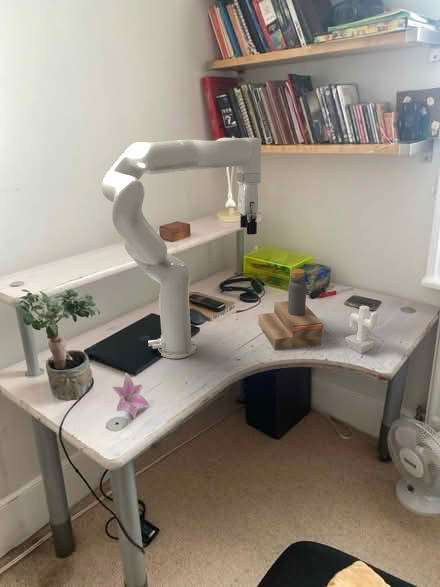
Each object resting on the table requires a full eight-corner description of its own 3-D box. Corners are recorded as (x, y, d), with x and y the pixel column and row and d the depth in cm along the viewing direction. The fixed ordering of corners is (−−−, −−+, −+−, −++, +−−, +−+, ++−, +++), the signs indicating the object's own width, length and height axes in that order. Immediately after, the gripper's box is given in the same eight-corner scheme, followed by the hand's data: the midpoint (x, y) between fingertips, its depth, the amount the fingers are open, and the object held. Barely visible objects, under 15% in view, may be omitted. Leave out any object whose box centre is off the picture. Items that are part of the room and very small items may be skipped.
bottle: (285, 313, 156) (286, 272, 150) (291, 307, 161) (292, 267, 155) (302, 316, 153) (303, 274, 148) (307, 310, 158) (309, 269, 152)
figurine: (356, 340, 154) (360, 299, 148) (379, 351, 146) (384, 308, 141) (341, 346, 150) (344, 304, 144) (364, 358, 143) (368, 314, 137)
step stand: (275, 351, 148) (275, 328, 145) (258, 324, 167) (258, 304, 164) (321, 345, 151) (323, 323, 148) (299, 319, 170) (300, 299, 167)
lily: (112, 430, 115) (125, 407, 111) (95, 397, 121) (107, 374, 117) (147, 423, 123) (161, 400, 119) (130, 392, 129) (142, 370, 125)
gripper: (232, 175, 154) (232, 225, 160) (243, 182, 138) (242, 237, 144) (253, 174, 155) (253, 224, 161) (267, 181, 139) (265, 236, 145)
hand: (248, 230), depth 152 cm, fingers open, 9 cm apart
